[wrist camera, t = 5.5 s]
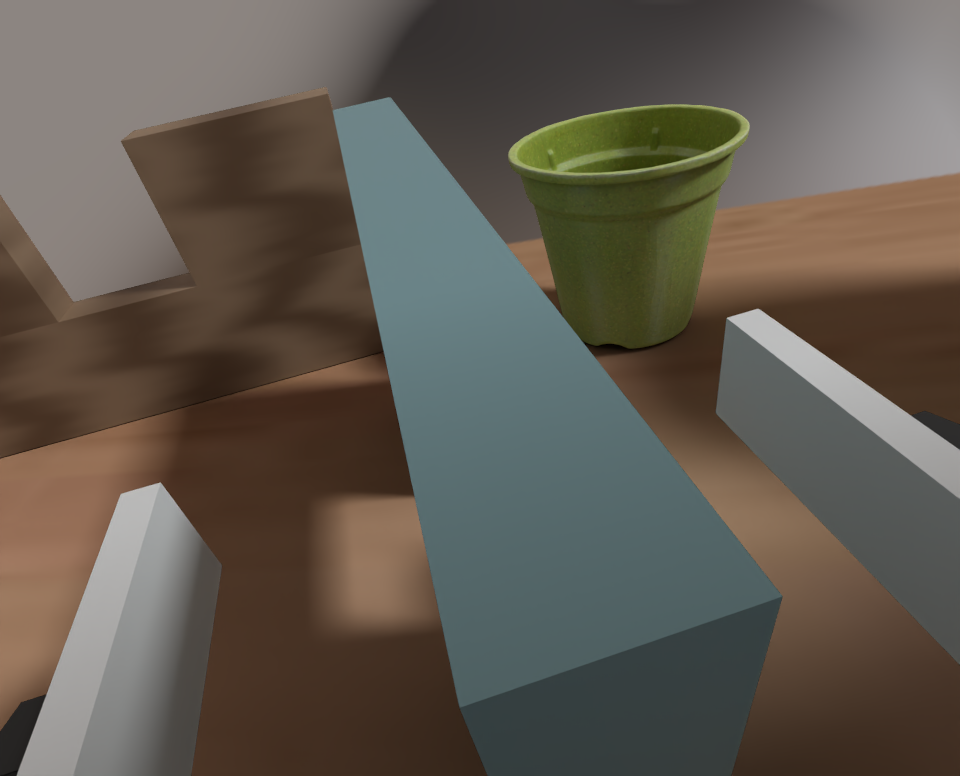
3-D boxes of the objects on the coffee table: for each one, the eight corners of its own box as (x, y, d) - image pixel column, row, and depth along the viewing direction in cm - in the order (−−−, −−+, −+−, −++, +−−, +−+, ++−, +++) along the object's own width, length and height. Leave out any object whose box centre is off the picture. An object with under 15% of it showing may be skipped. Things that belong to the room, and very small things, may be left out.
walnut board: (398, 327, 31) (326, 86, 24) (402, 345, 29) (327, 93, 22) (-20, 442, 29) (-238, 215, 22) (-39, 468, 27) (-281, 233, 20)
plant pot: (500, 312, 31) (472, 145, 25) (644, 257, 33) (646, 93, 28) (598, 401, 23) (587, 195, 18) (773, 323, 26) (809, 120, 20)
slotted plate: (455, 377, 26) (389, 97, 19) (679, 956, 11) (782, 596, 3) (414, 388, 26) (332, 110, 19) (579, 997, 10) (460, 708, 3)
